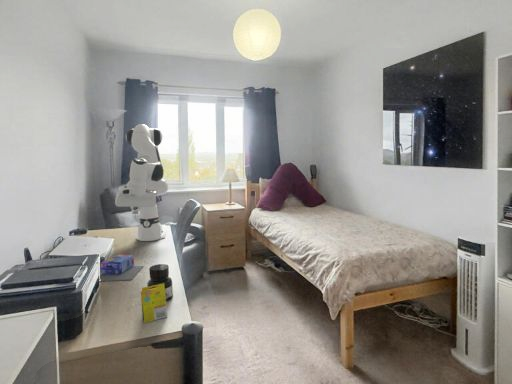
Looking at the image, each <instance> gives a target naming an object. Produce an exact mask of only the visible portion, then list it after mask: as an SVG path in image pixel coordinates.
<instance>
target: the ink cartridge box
mask: <svg viewBox="0 0 512 384" xmlns="http://www.w3.org/2000/svg"><path fill="white" fill-rule="evenodd" d="M132 266H135V256H134V255H130V254H116V255H115V254H114V255H113V256H112V257H108V258H107V259H105V260H103V261H100V262H99V269H100V270H101V271H100V274H103V275H105V274H118V275H119V274H121V273H123V272H124V271H126V270H127V269H129V268H131V267H132Z"/></svg>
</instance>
